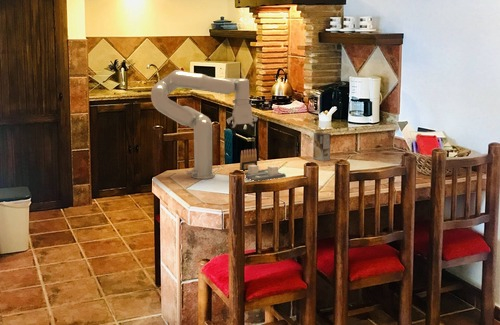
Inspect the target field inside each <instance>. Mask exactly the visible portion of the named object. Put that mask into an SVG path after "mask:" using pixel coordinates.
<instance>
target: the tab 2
mask: <svg viewBox="0 0 500 325" xmlns="http://www.w3.org/2000/svg"><path fill="white" fill-rule="evenodd" d="M267 169H268V175H276V174H278V172H279V166H278V165H275V164H273V165H268V166H267Z"/></svg>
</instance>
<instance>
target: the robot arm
mask: <svg viewBox="0 0 500 325" xmlns="http://www.w3.org/2000/svg"><path fill="white" fill-rule="evenodd" d="M151 88H152V89H151V92H150V100H151V102H152V105H153V108H155V109H156V110H157V111H158V112H159V113H161V114H163V115H165V116H166V117H168V118H169V119H171V120H173V121H174V122H176V123H178V124H179V125H182V126H186V127H187V126H188V127H189V128H191V129H193V146H194V147H193V150H194V154H193V155H194V156H193V157H194V159H193V160H194V161H193V162H194V168H192V169H191V170H186V171H185V173H186V175H187V176H188V175H191V177H192V178H194V179H196V180H197V179H198V180H208V179H213V178H215V177H216V173H214V172H213V124H212V121H211V120H212V119H211V118H209V116H207V115H205V114H203V113H202V112H200V111H198V110H196V109H194V108H193V107H191V106H187V105H183V106H182V105H181V104H180V103H179V104H178V103H177V102H176V101H174V100H171V99H170V98H169V97H168V95H169V94H171V93H173V92H174V91H175V90H177V89H178V88H181V89H190V90H197V91H201V92H208V93H209V92H210V93H216V94H222V95H230V94H232V93H234V100H232V104H234V105H233V107H232V108H233V109H232V116H230V117H228V118H227V119H226V122H227V125H229V126H230V129H231V130H230V131H231V134H232V136H236V135H237V134H236V126H237V125H247V124H248V125H249V126H248V133H249V134H251V135H253V133H254V126H255V125H256V123H257V121H258V117H257V116H254V115H253V108H252V105H251V104H250V80H249V79H248V78H232V77H224V78H218V77H213V76H208V75H207V74H203V73H199V72H198V73H196V72H190V71H184V70H182V69H175V70H173V71H171V73H169V74H168V75H166V76H165V77H163V78H162V79H161V80H159V81H158V82H156V83H155V84H154V85H153V87H151ZM231 121H232V122H231Z"/></svg>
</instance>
